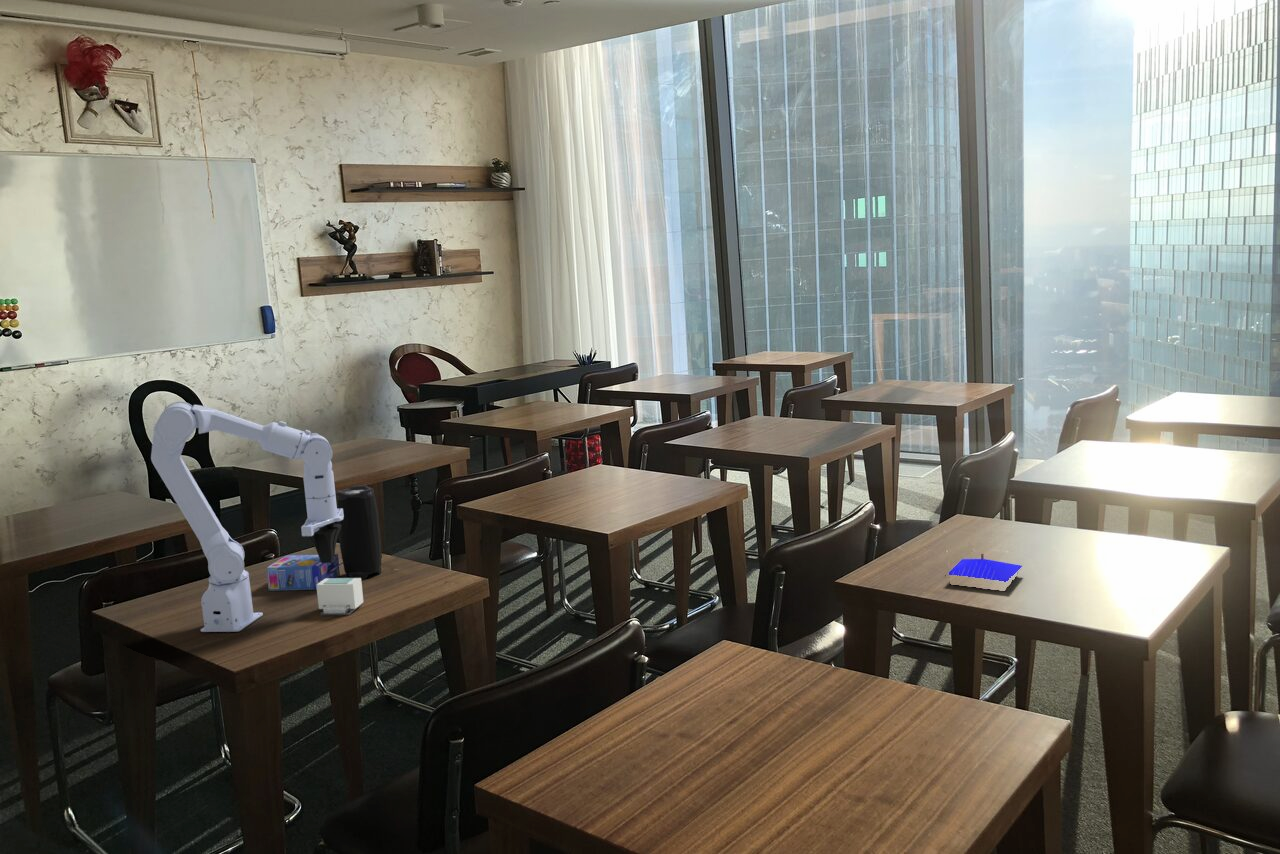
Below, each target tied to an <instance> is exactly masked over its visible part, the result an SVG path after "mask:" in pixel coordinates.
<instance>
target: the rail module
mask: <svg viewBox="0 0 1280 854" xmlns="http://www.w3.org/2000/svg"><path fill="white" fill-rule="evenodd" d="M316 587H317V589H316V594H317V604H318V609H319V610H323V607H325V606H326V605H350V608H351V609H356V608H357V607H358V606H359V605H360V604H362V603H363V604H364V594H363V584H362V579H361V578H349V577H338V578H326V579H324V580H322V581H321V582H320V583H318V584H317V585H316ZM363 604H362V605H363ZM358 608H359V607H358ZM358 608H357V609H358ZM357 609H356V610H357Z"/></svg>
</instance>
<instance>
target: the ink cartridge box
mask: <svg viewBox="0 0 1280 854" xmlns="http://www.w3.org/2000/svg"><path fill="white" fill-rule="evenodd" d="M339 560H340V559H339V554H338V553H335V555H334V560H333V562H331V563H321V561H320V558H319V556H318V554H293V555H292V554H291V555H290V554H289V555H288V554H287V555H284V556H283V557H281V558H280V559H278V560H277V561H275V562H273V563H271V564H270V565H269V566H267V567H266V576H267V584H268V585H267V589H268V591H271V592H272V591H301V590H302V591H303V590H306V591H307V590H317V587H316V585H317V584H318V583H320V582H321V581H322V580H324V579H326V578H340V576H341V575H340V566H341V565H342V564H343V561H342V562H341V563H340V561H339Z"/></svg>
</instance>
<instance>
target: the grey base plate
mask: <svg viewBox="0 0 1280 854" xmlns="http://www.w3.org/2000/svg"><path fill="white" fill-rule="evenodd" d="M363 604H364V602H363V603H362V604H360V605H359V606H358V607H357V608H356V609H351V608H350V605H326V606H325V607H323V609H322V610H323V611H321V612H320V613H319V616H320V617H321V616H350V615H351V614H353V613H354V611H356V610H357V609H358V608H359V607H360V606H362V605H363Z"/></svg>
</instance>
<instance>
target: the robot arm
mask: <svg viewBox="0 0 1280 854" xmlns="http://www.w3.org/2000/svg"><path fill="white" fill-rule="evenodd" d="M196 429H198V434H199V435H201V434H205V433H209V432H212V431H218V432H221V433H226V434H230V435H234V436H237V437H241V438H244V439H248V440H252V441H256V442H258V444H259V445H260V447H261V449H262V450H263V451H266V452H269V453H272V454H276V455H279V456H282V457H286V458H288V459H292V460H298V459H299V460H302V462H303V464H302V465H303V471H304V473H303V475H302V479H303V486H304V497H305V504H306V505H305V506H306V513H307V514H306V515H307V516H306V517H307V518H306V520H305V522H304V524H302V526H300V528H301V536H302V537H308V538H309V540H310V541H311V543H313V545H314V548H315V550H316V553H317V555H318V556H319V558H320V561H321V563H331V562H333V560H334V555H335V554H336V547H337V541H338V539H339V532H340V530H341V524H338V523H335V522H338V521H341V520H343V518H344V514H343V509H337V495H336V487H335V486H336V485H335V477H334V471H333V463H332V461H331V460H332V458H333V455H334V454H333V450H332V447H331V444H330V442H329V441H328V440H327V438H326V437H324V436H323V435H320V434H319V433H317V432H313V433H311V430H308V429H305V430H301V429H297V428H293V427H291V426H287V422H285V421H282V420H279V421H278V422H274V421H272V422H268V424H265V425H263V424H260V423H256V422H254V421H250V420H248V419H245V418H241V417H239V416H237V415H233V414H230V413H228V412H224V411H221V410H219V409H216V408H212V407H208V406H205V405H201V404H193V405H192V404H190V403H189V402H185V401H175V402H171V403H170V404H169V405H167V406H166V408H165V409H164V410H163V411H162V412H161V413H160V415H159V417H158V419H157V421H156V422H155V424H154V425H153V436H152V437H153V438H152V444H151V453H150V460H151V463H152V464H153V466H154V468H155V470H156V471H157V473H158V475H159V476H160V478H161V480H162V481H163V483H164V484H165V485H164V486H165V487H166V488H167V489H168V491H169V493H170V495H171V496H172V498H173V500H174V502H175V503H176V505H177V507H178V508H179V510H180V511H181V513H182V514H183V516H184V518H185V519H186V521H187V522H188V524H189V525H190V528H191V530H192V532H193V533H194V534H195V536H196V538H197V539H198V541H199V543H200V547H201V548H202V552H203V554H204V555H205V557H206V559H207V564H208V565H207V569H208V572H209V575H210V576H209V577H208V587H207V590H205V592H204V593H203V595H202V596H201V600H200V603H201V604H200V605H201V610H202V619H203V626H204V627H202V628H200V632H202V633H212V632H213V633H217V632H219V633H221V632H222V633H224V632H225V633H231V632H240V631H242V630H244V629H245V628H246V627H248V626H249V625H250V624H252V623H253V622H255V621H257V620H258V619H259V618H261V617H262V616H263V615H264V614H263V612H254V608H253V607H254V606H253V598H252V589H251V583H250V574H249V571H247V570H245V561H244V560H245V556H246V555H245V550H244V547H243V546H242V544H241V543H239V542H238V541H236V540H234V539H233V538H232V537H231V536H230V535H229V532H228V531H227V530H226V529H225V528H224V527H223V526H222V524H221V522H220V520H219V518H218V517H217V516H216V513H215V512H214V510H213V508H212V506H211V505H210V504H209V503H210V502H208V500H207V498H206V496H205V495H204V493H203V492H202V490H201V488H200V487H199V485H198V483H197V481H196V479H195V478H194V476H193V474H192V473H191V471H190V470H189V468H188V466H187V464H186V462H185V461H184V460H183V458H182V453H183V451H184V450H183V449H184V447H185V445H186V442H187V441H188V440H189V438H190V437H191V436H192V435H193V434H194V432H195V430H196Z"/></svg>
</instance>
